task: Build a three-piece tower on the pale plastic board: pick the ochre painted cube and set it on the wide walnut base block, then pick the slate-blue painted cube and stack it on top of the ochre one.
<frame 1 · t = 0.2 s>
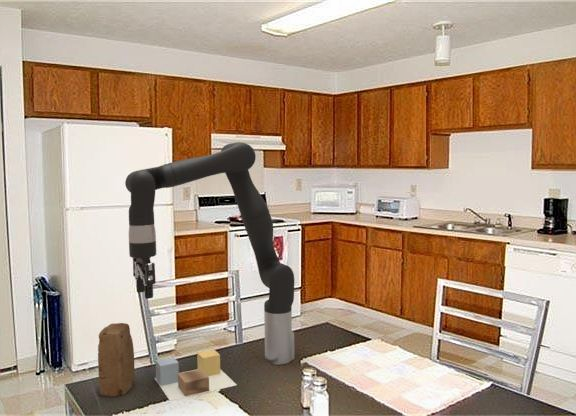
hand: (144, 295, 145), 28 cm above the table, fingers open, 8 cm apart
brick blue: (167, 380, 150), point 1 cm above the table, touching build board
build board: (195, 385, 149), on the table
base block: (193, 388, 144), point 1 cm above the table, touching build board
block: (118, 392, 145), on the table
brick ochre: (208, 372, 156), point 1 cm above the table, touching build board
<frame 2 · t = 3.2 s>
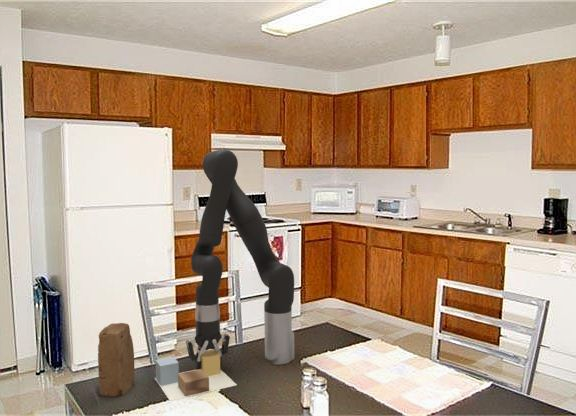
hand: (208, 369, 156), 2 cm above the table, fingers closed on brick ochre, 5 cm apart
brick ochre: (208, 372, 156), point 1 cm above the table, touching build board, gripper
everything else where it was.
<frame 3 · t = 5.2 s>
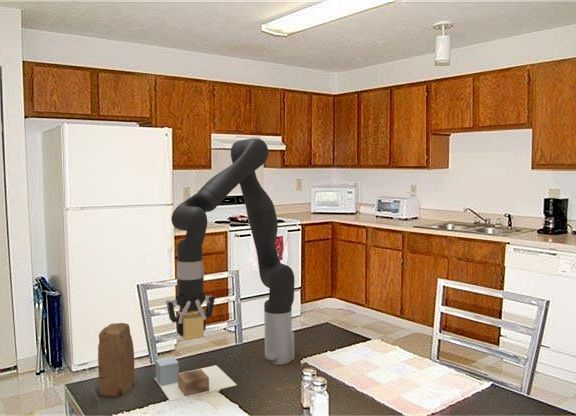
hand: (191, 333, 143), 18 cm above the table, fingers closed on brick ochre, 5 cm apart
brick ochre: (191, 336, 143), point 17 cm above the table, touching gripper
everything else where it was.
when the fingers open (7 cm above the table, at t = 7.6 s): brick ochre stays where it is, resting on base block.
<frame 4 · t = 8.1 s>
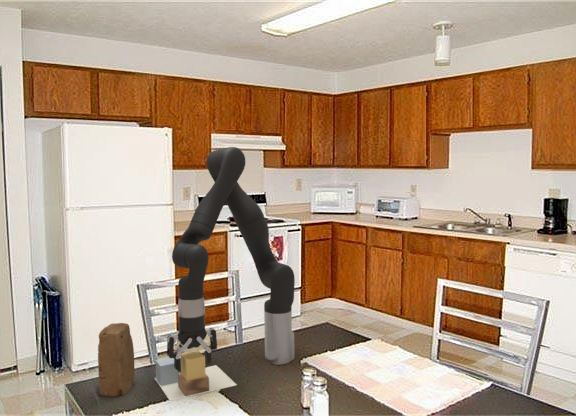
hand: (192, 367, 144), 8 cm above the table, fingers open, 8 cm apart
base block: (193, 388, 144), point 1 cm above the table, touching brick ochre, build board
brick ochre: (193, 375, 144), point 5 cm above the table, touching base block
everything else where it was.
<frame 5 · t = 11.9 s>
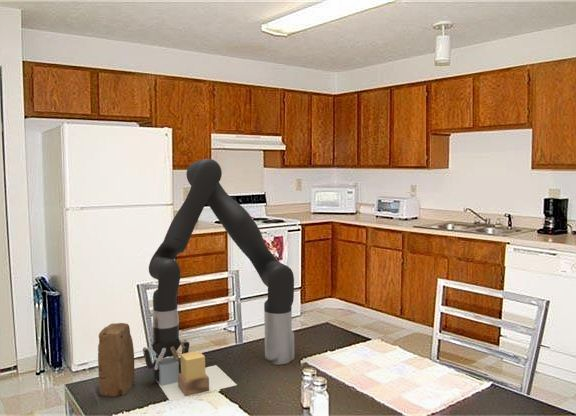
hand: (167, 377, 150), 2 cm above the table, fingers closed on brick blue, 5 cm apart
brick blue: (167, 380, 150), point 1 cm above the table, touching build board, gripper
everything else where it was.
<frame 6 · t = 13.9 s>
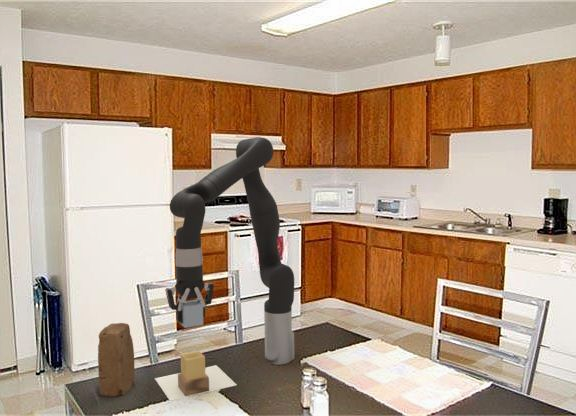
hand: (191, 320, 143), 21 cm above the table, fingers closed on brick blue, 5 cm apart
brick blue: (191, 323, 143), point 20 cm above the table, touching gripper
everything else where it was.
when the fingers open (13 cm above the table, at t = 16.0 s): brick blue stays where it is, resting on brick ochre.
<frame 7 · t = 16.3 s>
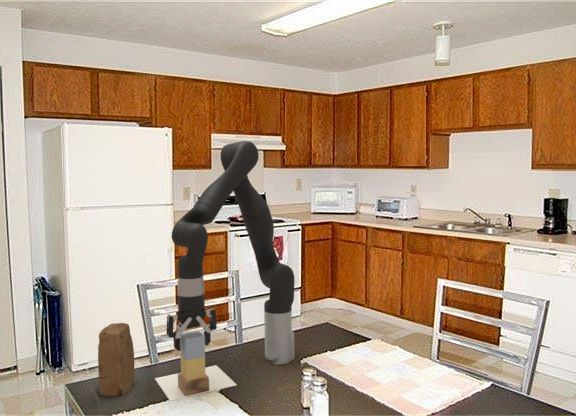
hand: (192, 347, 143), 14 cm above the table, fingers open, 8 cm apart
brick blue: (192, 355, 143), point 11 cm above the table, touching brick ochre
brick ochre: (193, 375, 144), point 5 cm above the table, touching base block, brick blue
everything else where it was.
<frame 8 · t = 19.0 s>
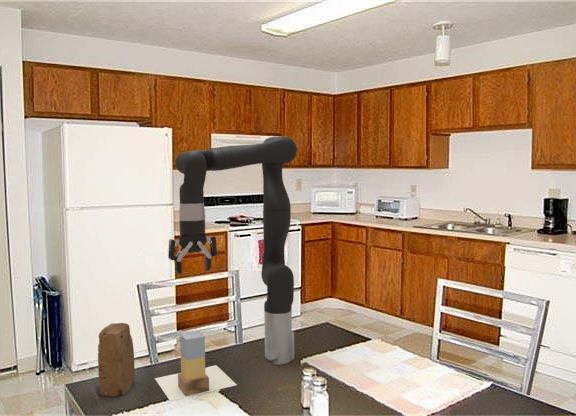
hand: (193, 272, 149), 34 cm above the table, fingers open, 8 cm apart
nothing on the table moved.
at the end: brick ochre 0.0 cm off-centre on the base block, point 4.0 cm above the base block's base; brick blue 0.0 cm off-centre on the brick ochre, point 6.0 cm above the brick ochre's base; brick blue tilted 0° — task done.
